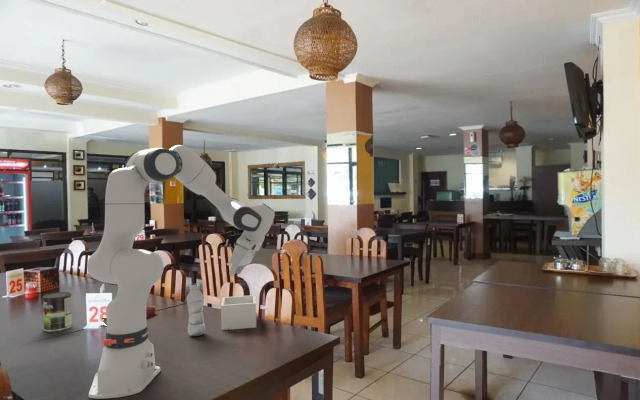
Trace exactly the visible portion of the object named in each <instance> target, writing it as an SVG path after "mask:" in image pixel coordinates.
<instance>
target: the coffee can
mask: <svg viewBox="0 0 640 400" xmlns="http://www.w3.org/2000/svg"><path fill="white" fill-rule="evenodd" d="M42 305H43V307H42V309H43V310H42V311H43V312H42V313H43V331H44V332H46V333H47V332H50V333H51V332H52V333H53V332H60V331H64V330H65V331H66V330H67V329H70V328H72V327H73V323H72V292H70V291H67V292H66V291H62V292H53V293H52V292H51V293H48V294H44V295H43V296H42Z"/></svg>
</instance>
